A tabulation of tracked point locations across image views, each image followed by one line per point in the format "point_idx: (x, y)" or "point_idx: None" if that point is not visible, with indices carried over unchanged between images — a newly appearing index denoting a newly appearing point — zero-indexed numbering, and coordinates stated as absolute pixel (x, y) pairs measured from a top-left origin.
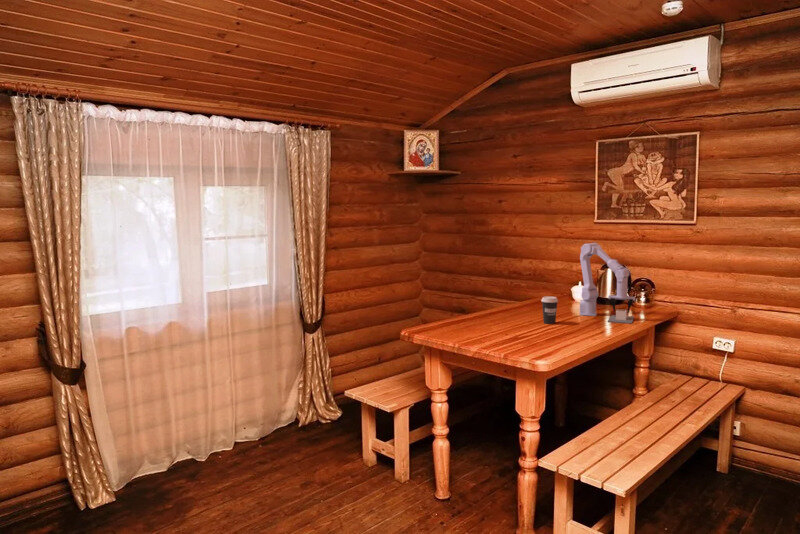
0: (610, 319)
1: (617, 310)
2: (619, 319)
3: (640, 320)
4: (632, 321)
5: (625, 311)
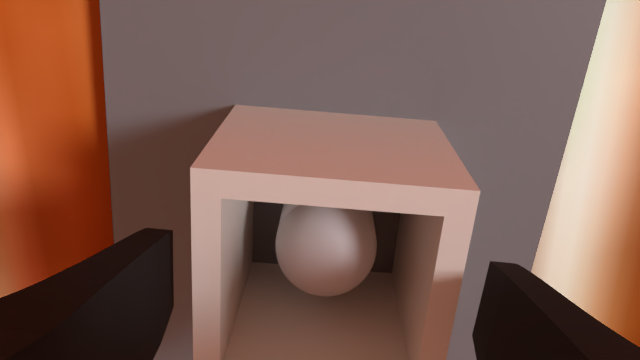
0: (546, 86)
1: (424, 313)
2: (363, 115)
3: (2, 222)
4: (100, 5)
5: (212, 184)
